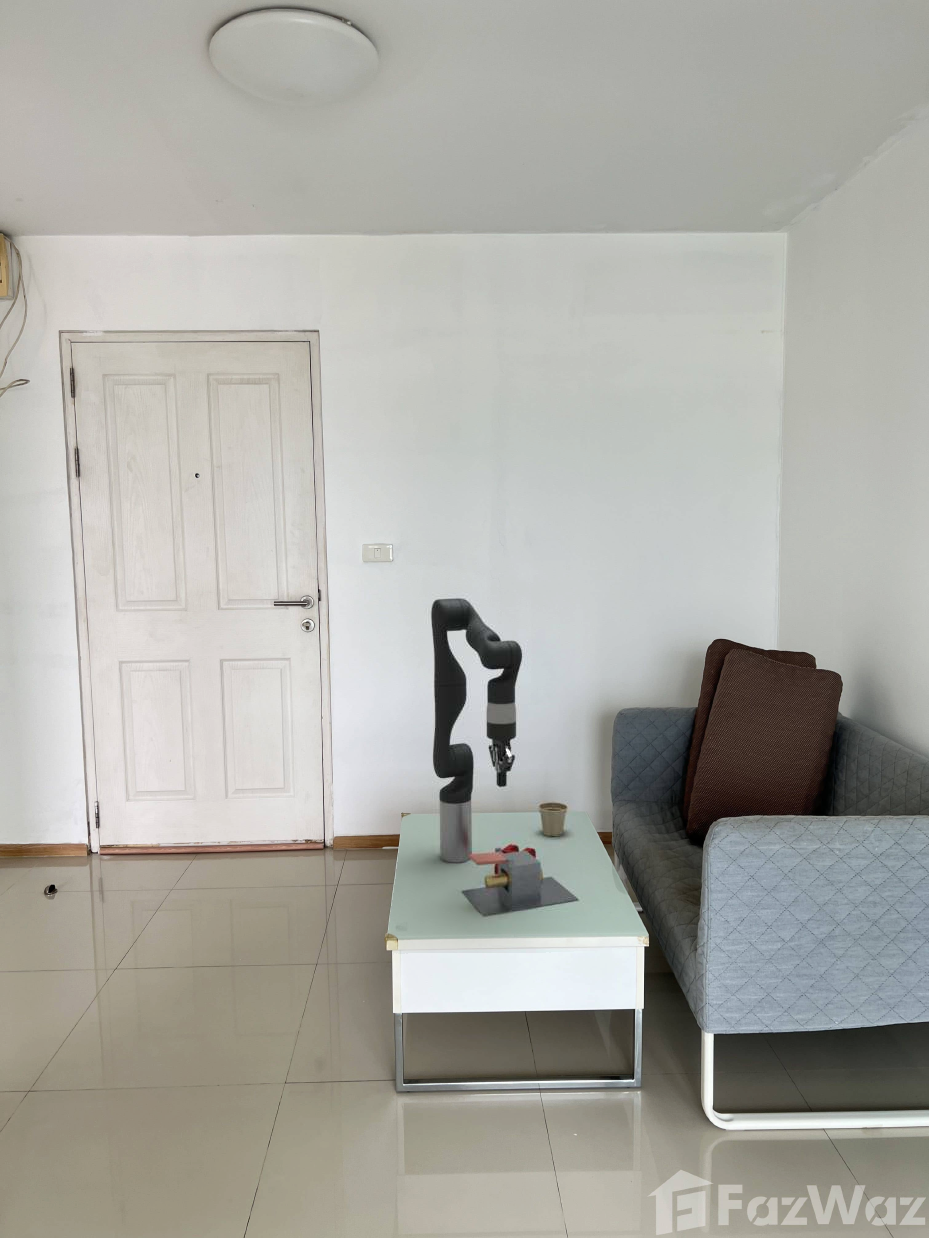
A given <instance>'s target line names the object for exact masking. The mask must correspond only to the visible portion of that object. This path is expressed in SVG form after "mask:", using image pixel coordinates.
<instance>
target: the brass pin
mask: <svg viewBox="0 0 929 1238" xmlns="http://www.w3.org/2000/svg"><path fill="white" fill-rule="evenodd" d="M543 878H544V874H543V869H542V868H541V885H542V883H543ZM484 886H485V887H486V888H487V889H490V888H496V887H503V886H509V876H508V873H501V874H495V873H494V874H490V875H489V874H488V875H485V876H484Z"/></svg>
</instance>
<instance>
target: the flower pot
mask: <svg viewBox="0 0 929 1238" xmlns="http://www.w3.org/2000/svg"><path fill="white" fill-rule="evenodd" d="M537 808H538V810H539V814H540V819H541V828H542V834H544V835H545V836H548V837H550V836H553V837H560V836H562V835H563V834H564V829H565V828H564V827H565V819H566V815H567V811H568V809H569V805H567V804H565V803H562V802H557V801H555V802H554V801H549V802H548V801H547V802H542V803H540V804H538V805H537Z"/></svg>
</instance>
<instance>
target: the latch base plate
mask: <svg viewBox="0 0 929 1238" xmlns="http://www.w3.org/2000/svg"><path fill="white" fill-rule="evenodd" d="M501 850H502V847H495V848H494V852H498V851H501ZM505 855H506V856H507V857H508V858H509V859H508V862H507V863H500V864H498V874H501V873H508V876H509V886H503V887H496V888H490V889H487V888H486V886H483V887H476V888H470V889H465V890H461V893H462V894H463V895H464V897H466V898H467V900H468V901H469V903H471V904H472V906H473V907H474V908H475V909H476V910H477V911H478V912H479V913H480V914H481V915H482V916H483V917H487V916H489V917H490V916H494V915H500V914H506V913H512V912H517V911H518V912H519V911H523V910H524V911H525V910H528V909H529V910H530V909H536V908H541V907H547V906H553V905H560V904H564V903H571V902H576V901H580V899H579V898H578V897H577V896H575V894H573V893H572V892H570V890H568V889H567V888H566V887H564V885H562V884H561V883H560V882H558V881H557V880H556V879H555V878H554V877H553V876H548V877H547V876H546V877H543V883H542V885H541V869H542V867H541V861H539V860H538V859H537V857H536V858H535V857H533V856H532V855H531V854H530V853H528V852H527V851H523V850H521V851H520V850H519V852H513V853H506V854H505Z"/></svg>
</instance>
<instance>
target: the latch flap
mask: <svg viewBox="0 0 929 1238" xmlns="http://www.w3.org/2000/svg"><path fill="white" fill-rule="evenodd" d="M469 858H470V860H471V861H472V862H473V863H474V864H475V865H476V866H484V865H486V866H487V865H495V864H500V863H507V862H508V859H509V858H508V857H507V856H506V855H505V854H503V853H502V852H501V851H498V852H495V851H492V852H491V851H490V852H479V853H472V854H469Z"/></svg>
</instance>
